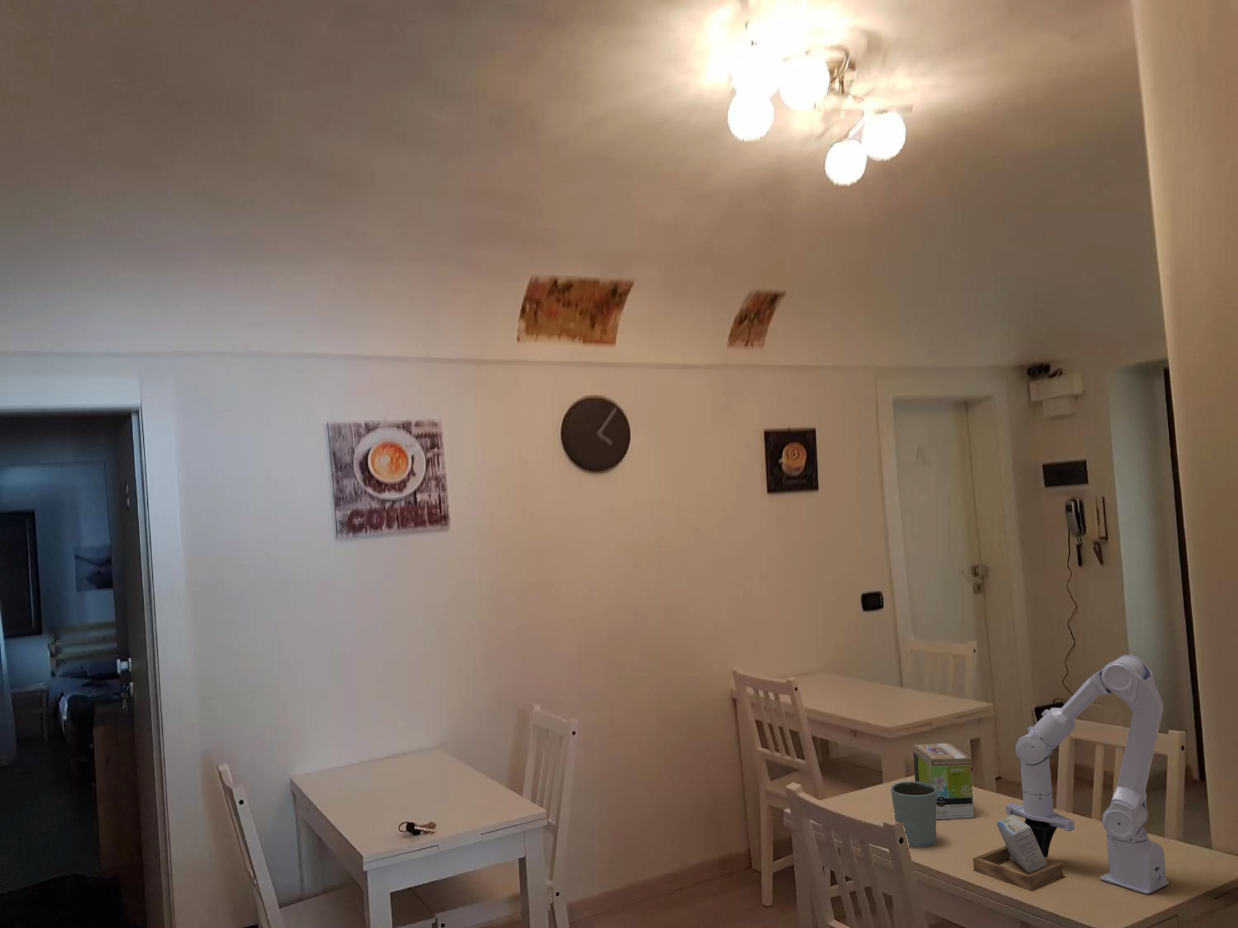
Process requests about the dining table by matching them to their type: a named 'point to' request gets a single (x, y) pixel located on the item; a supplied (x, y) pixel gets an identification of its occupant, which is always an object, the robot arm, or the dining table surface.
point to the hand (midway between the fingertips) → (1042, 856)
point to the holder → (1031, 881)
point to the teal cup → (916, 811)
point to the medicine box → (1021, 843)
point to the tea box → (946, 778)
